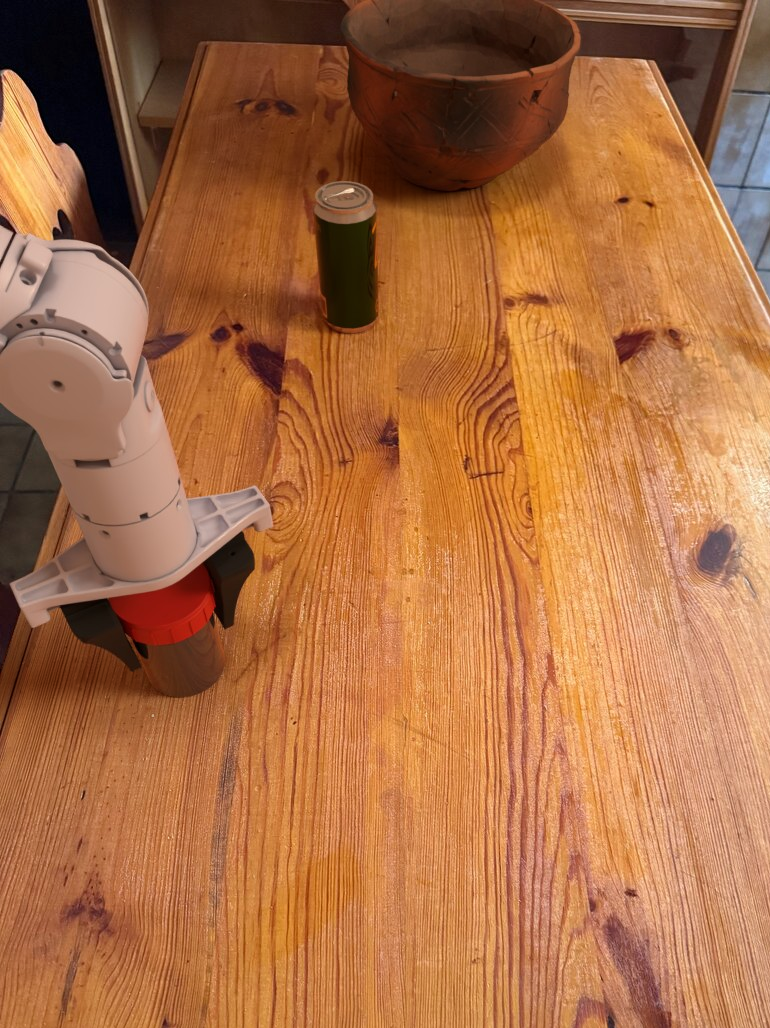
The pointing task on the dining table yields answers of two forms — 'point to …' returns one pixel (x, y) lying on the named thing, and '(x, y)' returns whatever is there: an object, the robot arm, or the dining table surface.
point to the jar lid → (167, 610)
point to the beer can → (347, 255)
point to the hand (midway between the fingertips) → (178, 637)
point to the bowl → (458, 83)
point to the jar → (184, 662)
